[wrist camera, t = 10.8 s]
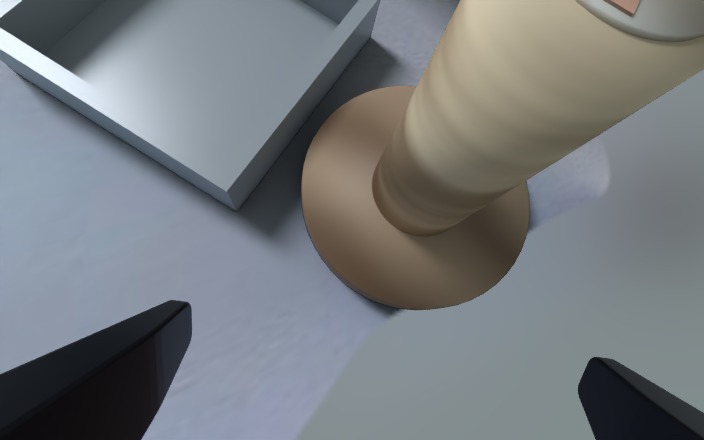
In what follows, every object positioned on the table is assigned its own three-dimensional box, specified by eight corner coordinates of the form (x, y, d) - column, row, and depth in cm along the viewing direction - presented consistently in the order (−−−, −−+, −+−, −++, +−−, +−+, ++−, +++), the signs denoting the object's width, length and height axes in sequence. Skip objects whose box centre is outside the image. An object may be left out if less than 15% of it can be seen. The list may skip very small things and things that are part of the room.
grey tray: (236, 212, 19) (226, 191, 16) (13, 70, 19) (-38, 25, 16) (370, 36, 23) (381, -5, 20) (185, -78, 23) (170, -134, 20)
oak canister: (440, 255, 18) (738, 112, 6) (353, 201, 18) (469, -50, 6) (481, 176, 19) (786, -66, 7) (401, 127, 20) (571, -192, 8)
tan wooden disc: (458, 356, 18) (472, 359, 17) (254, 227, 18) (251, 219, 17) (543, 171, 22) (561, 161, 21) (372, 66, 22) (378, 48, 21)
